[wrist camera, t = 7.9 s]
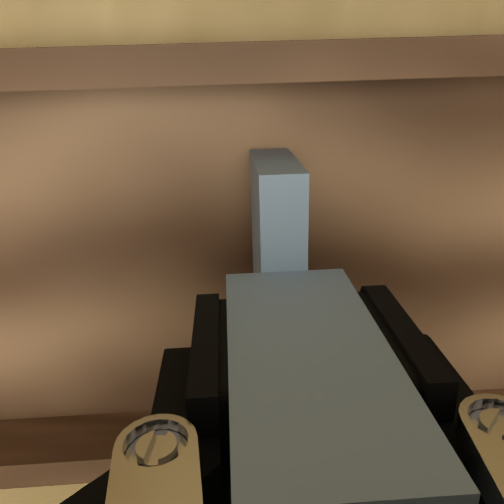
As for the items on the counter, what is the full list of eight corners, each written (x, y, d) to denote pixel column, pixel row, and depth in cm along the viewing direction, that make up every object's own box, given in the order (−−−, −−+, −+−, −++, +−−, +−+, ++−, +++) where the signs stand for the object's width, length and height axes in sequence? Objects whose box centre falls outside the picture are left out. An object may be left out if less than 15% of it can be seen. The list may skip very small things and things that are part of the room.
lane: (800, 370, 21) (1014, 481, 16) (-377, 444, 19) (-635, 606, 13) (955, 27, 16) (1352, 4, 11) (-611, 71, 14) (-1183, 73, 8)
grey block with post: (311, 362, 18) (431, 750, 8) (231, 366, 18) (246, 767, 8) (315, 146, 15) (514, 307, 5) (221, 150, 15) (220, 323, 5)
